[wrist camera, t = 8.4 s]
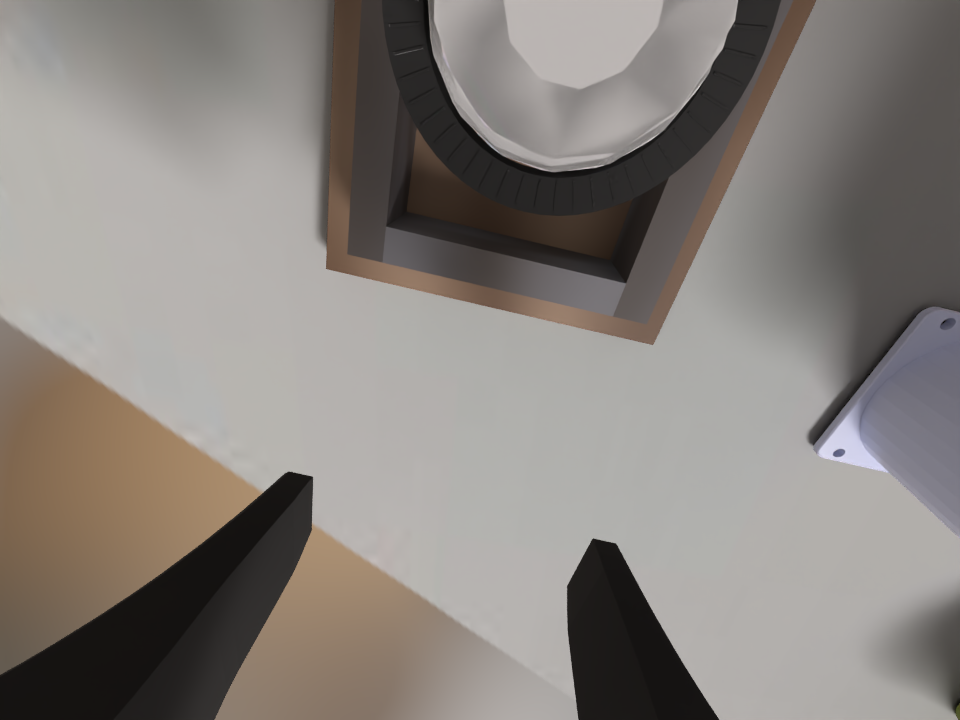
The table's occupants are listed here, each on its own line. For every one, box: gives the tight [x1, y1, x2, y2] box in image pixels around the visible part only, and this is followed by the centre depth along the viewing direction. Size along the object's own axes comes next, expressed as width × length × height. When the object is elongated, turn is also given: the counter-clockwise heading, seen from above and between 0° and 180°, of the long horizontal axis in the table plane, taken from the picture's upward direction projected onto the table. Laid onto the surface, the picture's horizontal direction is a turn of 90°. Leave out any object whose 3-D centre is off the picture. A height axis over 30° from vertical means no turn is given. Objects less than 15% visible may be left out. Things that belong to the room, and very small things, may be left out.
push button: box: [382, 0, 781, 216], centre depth 9 cm, size 7×5×10 cm
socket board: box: [326, 0, 816, 345], centre depth 13 cm, size 14×16×4 cm
